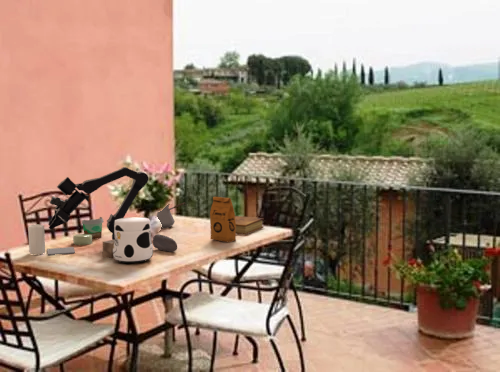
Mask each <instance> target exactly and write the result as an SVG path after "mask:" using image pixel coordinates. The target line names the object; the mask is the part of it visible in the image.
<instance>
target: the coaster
mask: <svg viewBox="0 0 500 372" xmlns="http://www.w3.org/2000/svg"><path fill="white" fill-rule="evenodd" d="M46 251H47V256H56V255H55V254H62V255H73V254H74V253H75V254H76V250H75V247H74V246H68V247H67V246H66V247H53V248H47V250H46Z"/></svg>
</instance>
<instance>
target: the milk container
mask: <svg viewBox="0 0 500 372" xmlns="http://www.w3.org/2000/svg"><path fill="white" fill-rule="evenodd" d="M151 232H152V231H151V221H150V218H147V217H139V216H138V217H136V216H135V217H134V216H133V217H132V216H131V217H124V218H121V219H117V220H115V223H114V235H115V241H114V246H113V256H114V258H113V259H114V260H115V261H117V262H119V263H123V264H135V263H136V264H138V263H143V262H147V261H149V260H150V259H152V257H153V255H154V246H153V241H152V237H151V234H152V233H151Z"/></svg>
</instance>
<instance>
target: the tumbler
mask: <svg viewBox="0 0 500 372" xmlns="http://www.w3.org/2000/svg"><path fill="white" fill-rule="evenodd" d="M27 230H28V232H27V233H28V249H29V250H28V251H29V254H42V255H44V254H45V253H46V241H45V240H46V239H45V236H46V235H45V225H44V224H30V225H28V226H27ZM43 253H44V254H43Z"/></svg>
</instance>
